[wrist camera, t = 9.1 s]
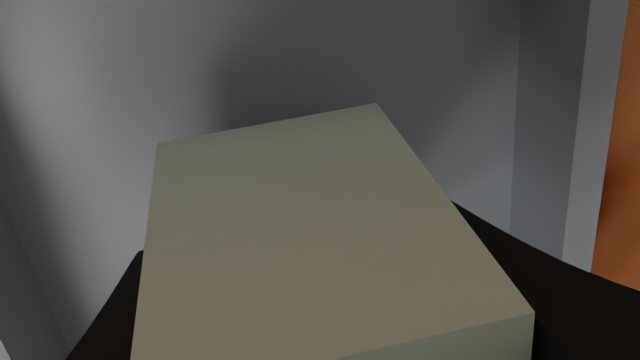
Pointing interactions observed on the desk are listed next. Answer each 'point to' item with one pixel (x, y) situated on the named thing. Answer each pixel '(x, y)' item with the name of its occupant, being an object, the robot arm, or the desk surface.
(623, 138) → the desk surface
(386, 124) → the sage green block
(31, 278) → the grey tray
